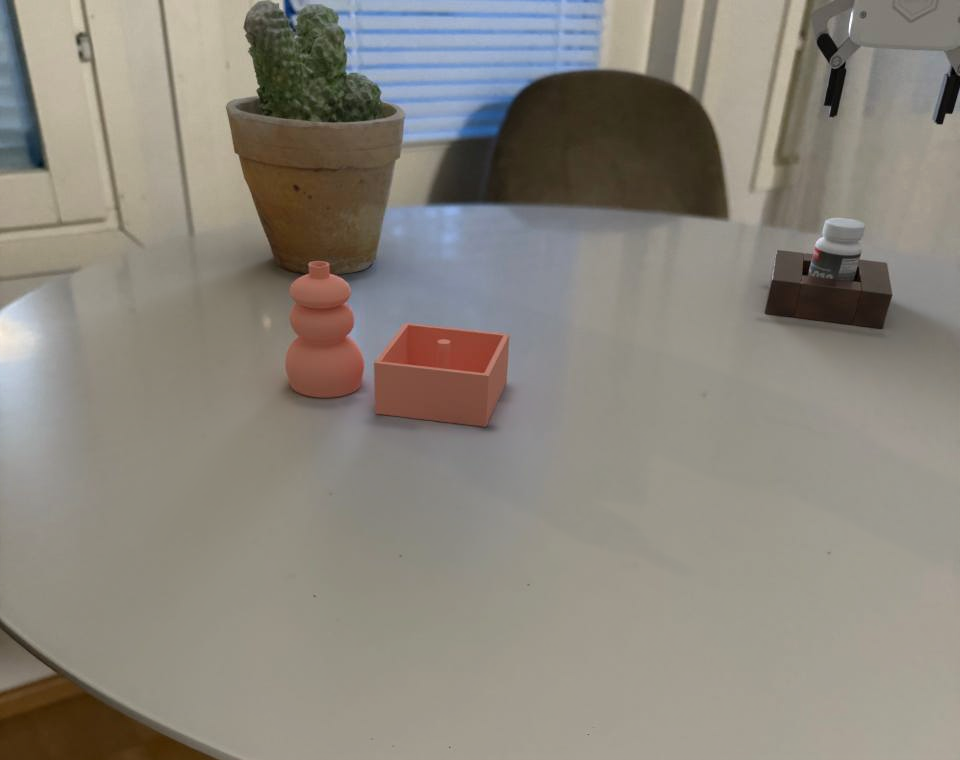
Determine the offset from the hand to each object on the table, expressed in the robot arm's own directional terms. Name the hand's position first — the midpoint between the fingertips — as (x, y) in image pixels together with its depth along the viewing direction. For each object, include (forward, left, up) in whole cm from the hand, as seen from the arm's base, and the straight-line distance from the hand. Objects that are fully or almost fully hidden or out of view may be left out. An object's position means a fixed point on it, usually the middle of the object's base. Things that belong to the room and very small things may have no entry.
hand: (884, 118), depth 92 cm
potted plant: (+56, +7, -18) cm, 59 cm away
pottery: (+36, +39, -18) cm, 56 cm away
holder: (+1, -1, -18) cm, 18 cm away
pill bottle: (+1, -1, -18) cm, 18 cm away
